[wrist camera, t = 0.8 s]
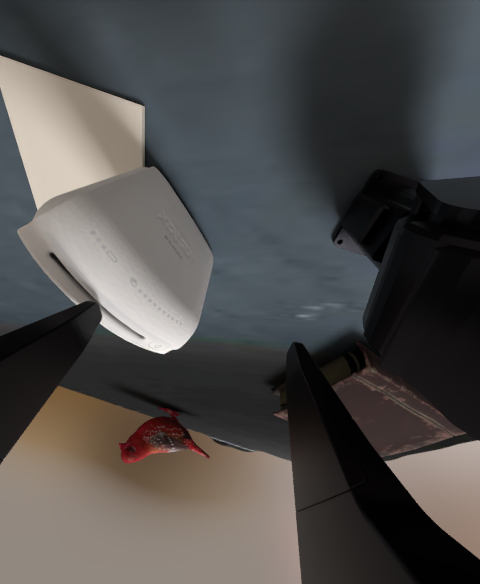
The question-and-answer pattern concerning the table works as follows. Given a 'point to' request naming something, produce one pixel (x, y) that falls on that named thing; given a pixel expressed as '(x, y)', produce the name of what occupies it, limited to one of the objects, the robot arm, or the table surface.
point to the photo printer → (126, 256)
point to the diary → (382, 405)
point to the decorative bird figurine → (158, 439)
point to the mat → (69, 130)
